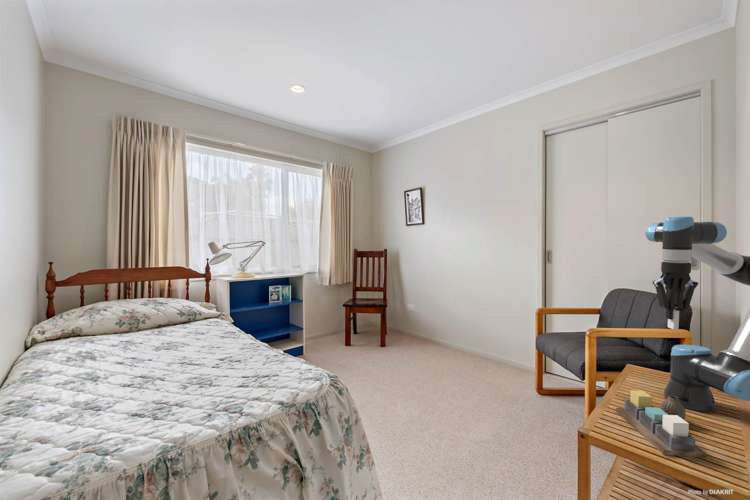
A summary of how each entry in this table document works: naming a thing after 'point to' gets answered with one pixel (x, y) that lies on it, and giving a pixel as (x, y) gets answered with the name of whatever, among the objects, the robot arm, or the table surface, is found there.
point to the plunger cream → (675, 425)
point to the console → (659, 433)
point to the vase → (673, 407)
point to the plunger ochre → (640, 399)
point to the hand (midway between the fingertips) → (672, 328)
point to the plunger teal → (655, 413)
